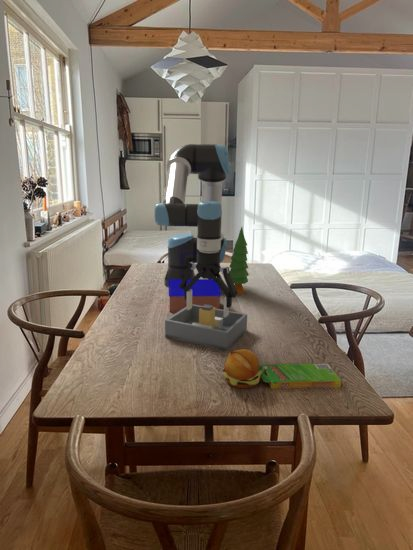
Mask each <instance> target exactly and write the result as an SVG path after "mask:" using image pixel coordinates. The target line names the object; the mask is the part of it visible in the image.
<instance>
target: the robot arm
mask: <svg viewBox="0 0 413 550" xmlns="http://www.w3.org/2000/svg"><path fill="white" fill-rule="evenodd" d="M229 159H230V158H229V150H228V147H227V146H226V145H223V144H211V143H210V144H205V143H204V144H196V143H195V144H194V143H190V144H184V145H181V147H178V148H177V149H176V150H175V151H174V152H173V153H172V154H171V155H170V156H169V158H168V160H167V164H166V172H167V178H166V182H165V189H164V195H163V200H162V201H163V202H160V203H156V204H155V207H154V223H155V224H156V225H157V226H162V227H164V226H165V227H190V228H191V227H192V228H193V227H196V228H197V235H196V237H195V236H194V234H192V233H180V234H176V235H172V236H170V237H169V238H168V240H167V270H166V273H165V277H164V280H163V281H164V285H165V286H166V287H168V288H169V279H182V281H181V283H180V285H179V288H180V289H181V288H182V289H183V290H184V296H185V297H184V298H185V300H187V310H190V309H191V308H192V290H190V289H191V287H192V286H193V285H194V284H195V283H196V282H197V281H198V280H199V279H210V280H212V279H213V280H214V281H215V282H216V283H217V285H218V286H219V287H220V290H221V292H222V293H223V294H224V299H223V310H224V315H223V317H225V318H226V317H227V316H228V315H229V311H230V308H231V307H232V305H233V304H232V303H233V298H236V297H238V295H239V294H238V293H237V290H236V288H235V284H234V283H233V280H232V278H231V276H230V267H229V266H226V267H221V265H220V264H221V263H223V261H224V260H225V257H226V251H227V238H225V237H224V236H225V235H224V233H222V217H223V210H222V203H223V200H222V198H223V183H224V181H226V180H227V176H229V175H230V174H231V172H230V160H229ZM190 175H197V178H198V180H199V181H200V182H201V201H200V202H198V203H185V202H186V194H187V184H188V177H189V176H190ZM195 270H196V271H197V274H196V273H195ZM220 273H221V274H220ZM221 275H223V278H224V280H223V278H222V276H221ZM189 279H192V280H191V281H190V282H189V284H188V285H186V284H187V282H188V280H189Z"/></svg>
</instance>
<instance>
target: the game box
mask: <svg viewBox="0 0 413 550" xmlns="http://www.w3.org/2000/svg"><path fill="white" fill-rule="evenodd" d="M261 365H262V366H263V368H262V373H261V375H260V377H262V380H263V382H264V383H268V385H269V388H270V389H308V388H307V387H310V388H311V389H312V387H317V388H318V387H323V388H341V385H342V380H341V378H339V376H338V375H337V374H336V372H335V371H334V369H332V367H331V365H330V364H329V363H285V364H284V363H282V364H281V363H277V364H276V363H274V364H272V363H271V364H269V363H267V364H261ZM264 372H265V373H264ZM310 388H309V389H310Z"/></svg>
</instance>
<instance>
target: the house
mask: <svg viewBox="0 0 413 550" xmlns="http://www.w3.org/2000/svg"><path fill="white" fill-rule="evenodd" d="M191 280H192V279H189V280H188V282H187V284H186V285H188V284H189V282H190V281H191ZM181 281H182V279H169V287H168V297H169V313H177V312H179V311H180V310H182V309H183V308H185V307H187V300H185V298H184V297H185V296H184V290H183V289H182V288H181V289H180V288H179V285H180V283H181ZM190 290H192V304H193V305H199V306H203V305H205V304H207V305H212V306H213V307H214V308H215V309H221V308H220V307H221V305H220V304H221V302H220V301H221V297H222V294H221V292H222V290H221V289H220V287H219V286H218V285H217V283H216V282H215V281H214V280H213V279H212V280H210V279H207V278H206V279H203V278H200V279H199V280H198V281H197V282H196V283H195V284H194V285H193V286H192V287H191V289H190Z"/></svg>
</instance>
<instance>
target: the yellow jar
mask: <svg viewBox="0 0 413 550" xmlns="http://www.w3.org/2000/svg"><path fill="white" fill-rule="evenodd" d="M199 323H200V324H205V325H210V326H213V329H215V308H214V307H213V306H212V305H207V304H205V305H203V306H202V307H201V308H200V309H199Z"/></svg>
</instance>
